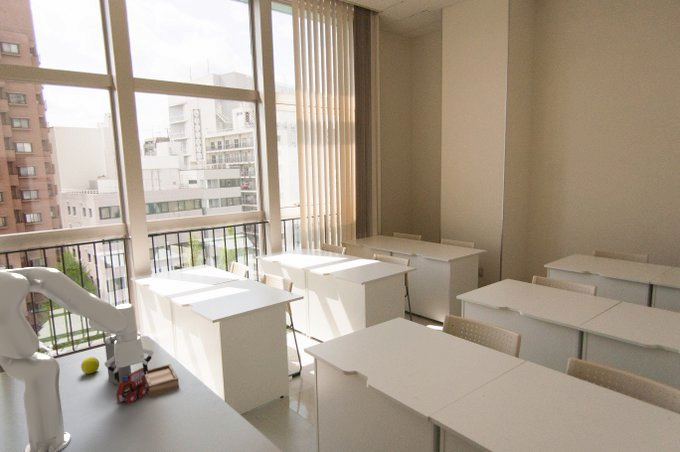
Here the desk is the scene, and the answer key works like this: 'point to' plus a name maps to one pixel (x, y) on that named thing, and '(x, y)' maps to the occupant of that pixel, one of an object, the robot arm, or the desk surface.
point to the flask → (109, 354)
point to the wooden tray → (161, 379)
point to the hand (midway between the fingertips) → (131, 376)
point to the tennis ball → (90, 365)
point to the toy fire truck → (132, 387)
